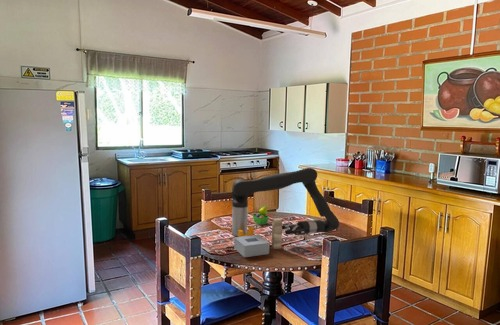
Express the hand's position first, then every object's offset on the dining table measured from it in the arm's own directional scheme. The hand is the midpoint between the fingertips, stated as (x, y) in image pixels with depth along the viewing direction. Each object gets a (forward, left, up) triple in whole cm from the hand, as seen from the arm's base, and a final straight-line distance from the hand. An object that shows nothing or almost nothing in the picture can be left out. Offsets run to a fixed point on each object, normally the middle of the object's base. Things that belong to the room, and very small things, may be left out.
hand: (281, 230), depth 195 cm
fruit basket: (-47, +10, -10) cm, 49 cm away
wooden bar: (0, -3, -10) cm, 10 cm away
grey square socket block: (0, -18, -10) cm, 20 cm away
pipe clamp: (-18, -13, -10) cm, 24 cm away
